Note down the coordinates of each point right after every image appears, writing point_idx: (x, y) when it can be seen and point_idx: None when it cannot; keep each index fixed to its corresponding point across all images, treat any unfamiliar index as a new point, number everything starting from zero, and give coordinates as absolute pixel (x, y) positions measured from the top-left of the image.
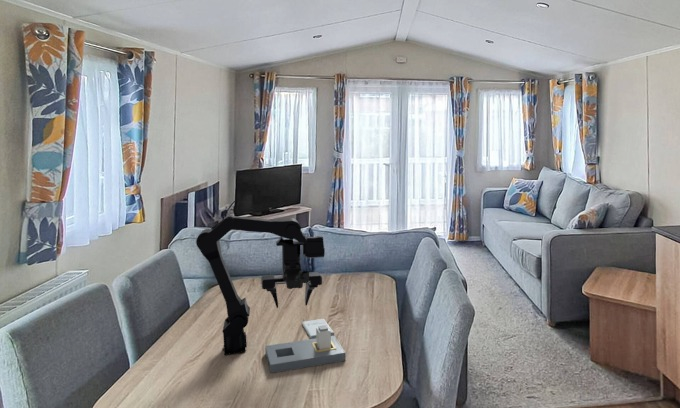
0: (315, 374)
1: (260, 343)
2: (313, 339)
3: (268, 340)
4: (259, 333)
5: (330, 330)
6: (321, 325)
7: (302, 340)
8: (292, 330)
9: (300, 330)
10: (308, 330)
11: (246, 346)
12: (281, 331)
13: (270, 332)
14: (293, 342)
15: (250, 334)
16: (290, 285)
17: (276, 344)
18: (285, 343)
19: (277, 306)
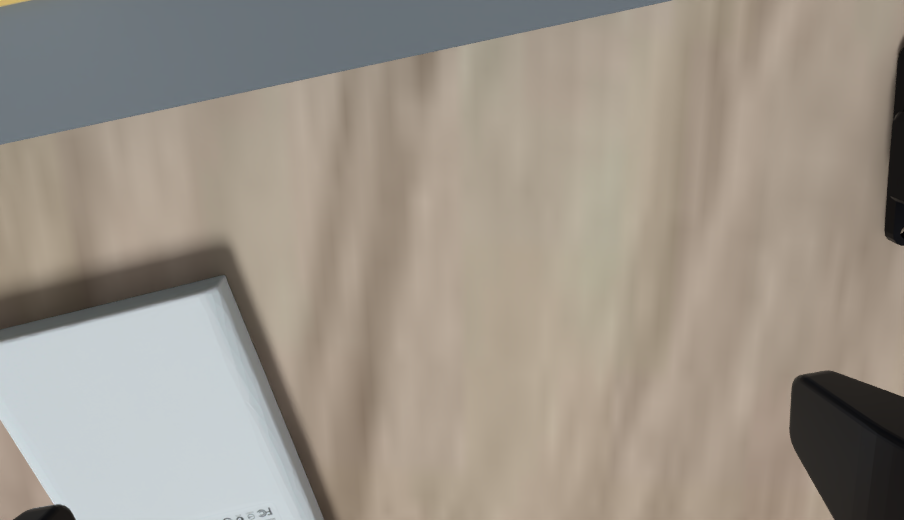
0: None
1: (731, 227)
2: (135, 92)
3: (652, 280)
4: (722, 419)
5: (5, 391)
6: (128, 501)
7: (281, 79)
8: (423, 454)
9: (346, 450)
10: (255, 410)
11: (898, 119)
12: (525, 442)
13: (625, 430)
14: (396, 37)
15: None
16: None
17: (610, 5)
18: (497, 21)
19: (838, 389)
